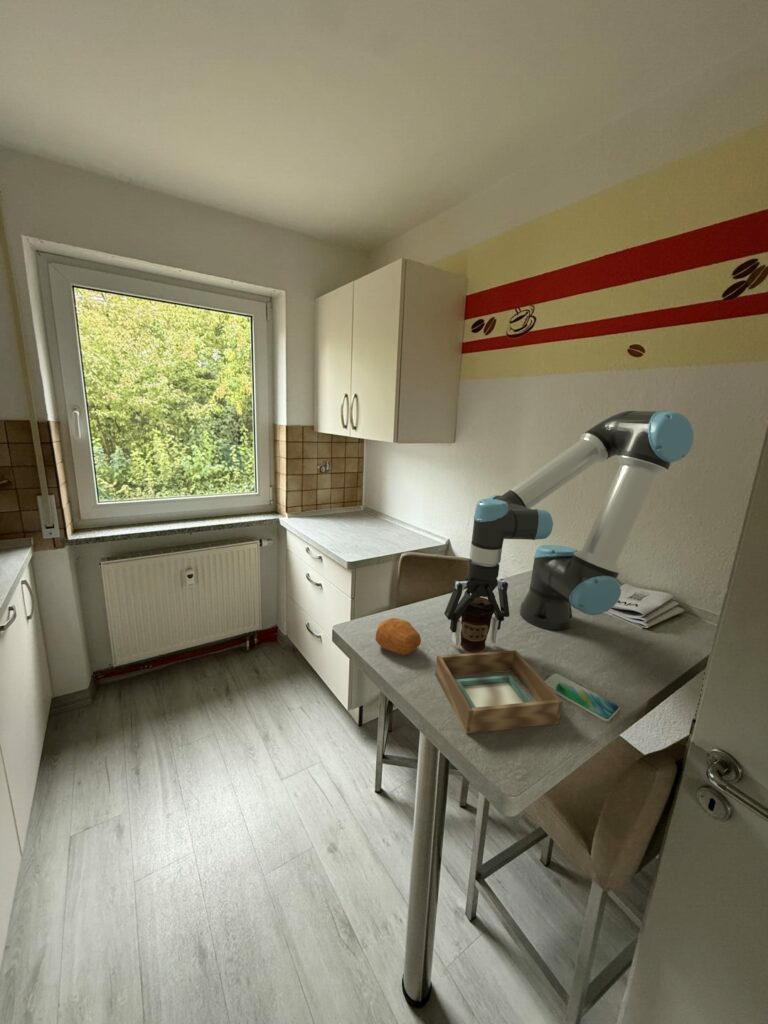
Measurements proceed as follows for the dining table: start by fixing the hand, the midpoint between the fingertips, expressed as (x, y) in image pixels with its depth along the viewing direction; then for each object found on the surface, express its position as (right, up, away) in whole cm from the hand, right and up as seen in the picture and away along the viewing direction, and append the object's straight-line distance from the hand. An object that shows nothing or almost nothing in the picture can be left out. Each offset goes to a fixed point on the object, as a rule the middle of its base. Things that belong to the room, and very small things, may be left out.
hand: (473, 641), depth 107 cm
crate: (0, -6, -18) cm, 19 cm away
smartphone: (+20, -8, -16) cm, 26 cm away
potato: (-20, -1, -3) cm, 20 cm away
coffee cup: (0, -2, 0) cm, 2 cm away
